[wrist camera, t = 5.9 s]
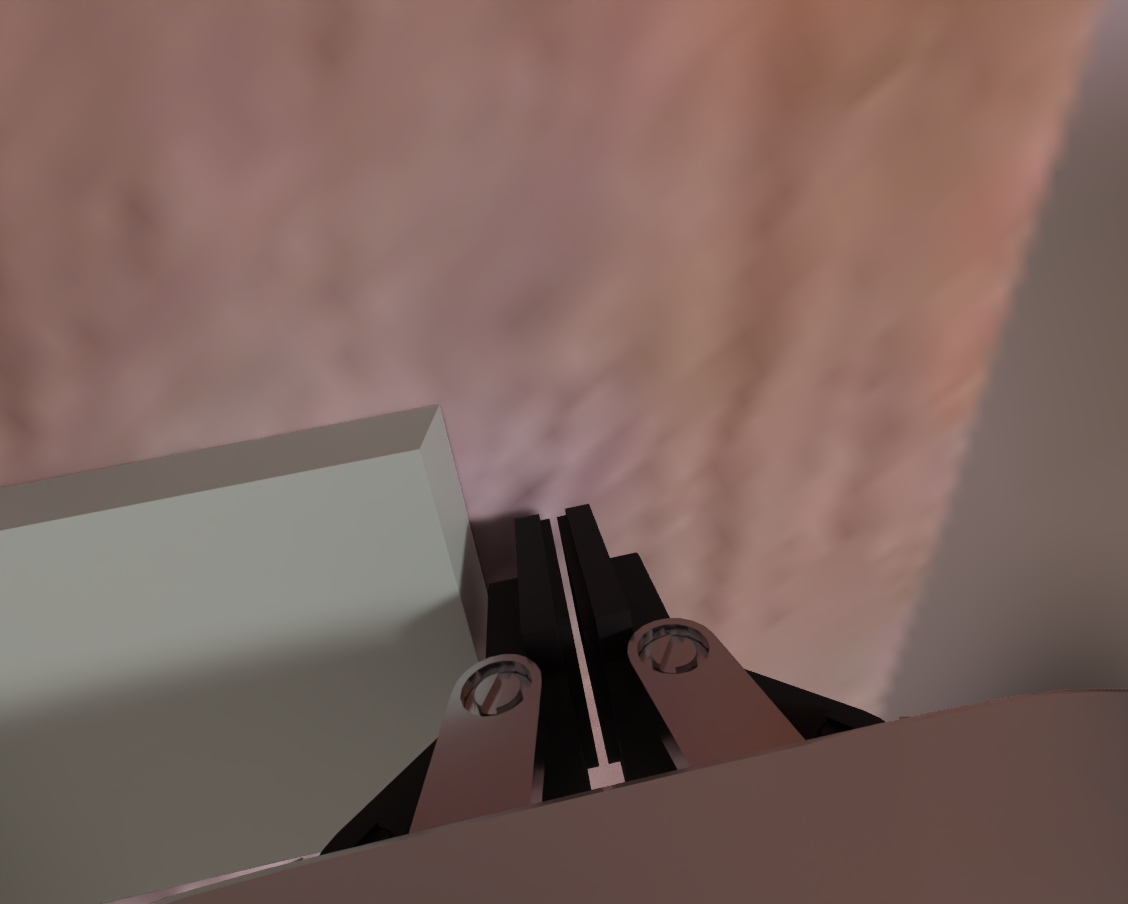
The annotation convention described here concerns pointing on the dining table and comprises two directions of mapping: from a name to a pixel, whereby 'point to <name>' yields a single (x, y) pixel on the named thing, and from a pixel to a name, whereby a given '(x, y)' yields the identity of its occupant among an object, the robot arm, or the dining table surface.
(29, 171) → the dining table surface
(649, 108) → the dining table surface
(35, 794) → the pale green tile
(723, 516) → the dining table surface
